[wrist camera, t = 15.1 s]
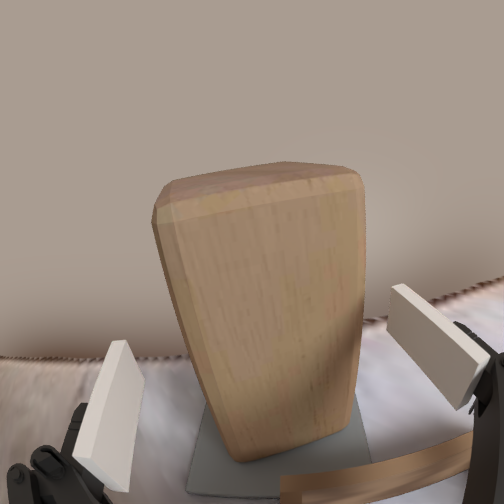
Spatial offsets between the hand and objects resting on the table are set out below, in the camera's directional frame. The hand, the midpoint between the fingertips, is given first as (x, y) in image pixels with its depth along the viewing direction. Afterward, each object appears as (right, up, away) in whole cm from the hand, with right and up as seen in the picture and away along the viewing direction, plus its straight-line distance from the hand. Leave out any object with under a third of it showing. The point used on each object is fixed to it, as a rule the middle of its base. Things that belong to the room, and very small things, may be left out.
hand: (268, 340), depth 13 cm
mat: (+2, -11, +8) cm, 14 cm away
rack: (+10, -17, -9) cm, 22 cm away
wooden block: (+1, -10, +10) cm, 14 cm away
